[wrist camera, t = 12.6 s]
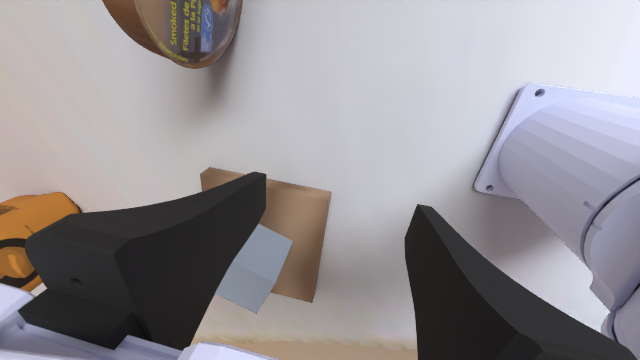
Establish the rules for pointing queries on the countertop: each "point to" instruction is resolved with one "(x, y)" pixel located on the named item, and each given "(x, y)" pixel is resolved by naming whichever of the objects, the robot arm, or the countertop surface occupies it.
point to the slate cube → (255, 269)
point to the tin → (179, 27)
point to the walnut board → (289, 229)
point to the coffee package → (26, 233)
